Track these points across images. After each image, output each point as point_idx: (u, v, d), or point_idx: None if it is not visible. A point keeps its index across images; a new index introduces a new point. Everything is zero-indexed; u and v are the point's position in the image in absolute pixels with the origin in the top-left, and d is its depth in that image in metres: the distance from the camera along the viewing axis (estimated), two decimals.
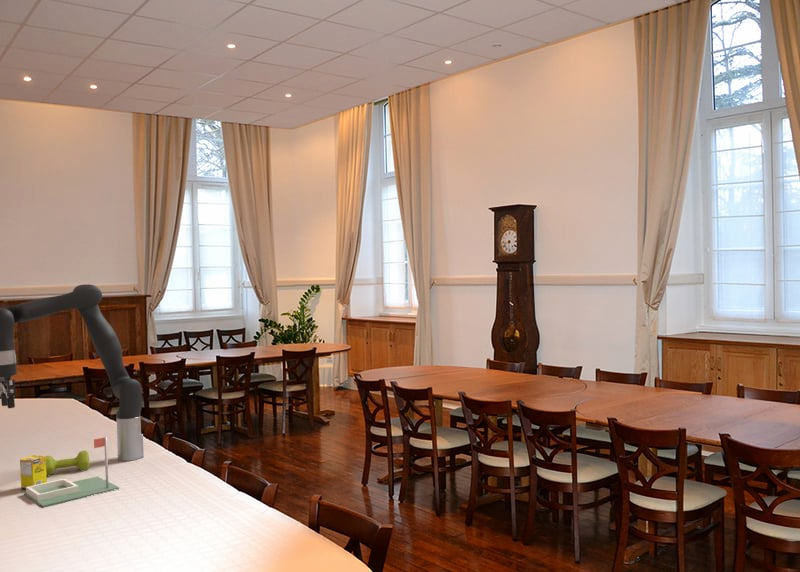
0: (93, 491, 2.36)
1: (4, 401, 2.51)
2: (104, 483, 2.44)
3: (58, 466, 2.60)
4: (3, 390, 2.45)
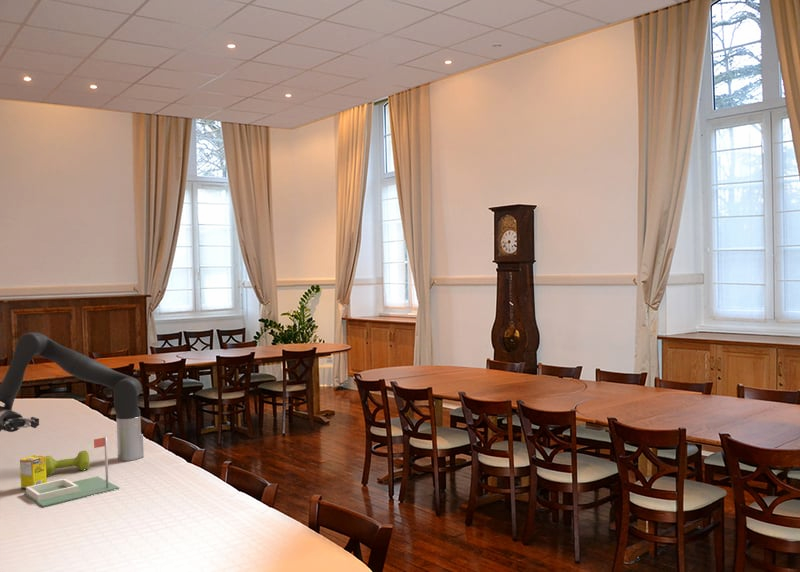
0: (93, 491, 2.36)
1: (33, 425, 2.55)
2: (104, 483, 2.44)
3: (58, 466, 2.60)
4: None
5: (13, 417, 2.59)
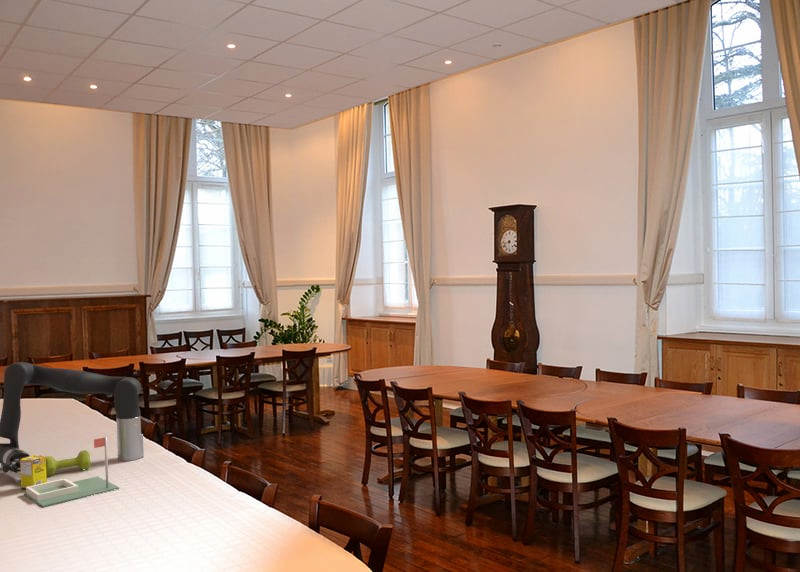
0: (93, 491, 2.36)
1: None
2: (104, 483, 2.44)
3: (59, 466, 2.60)
4: None
5: (20, 456, 2.55)
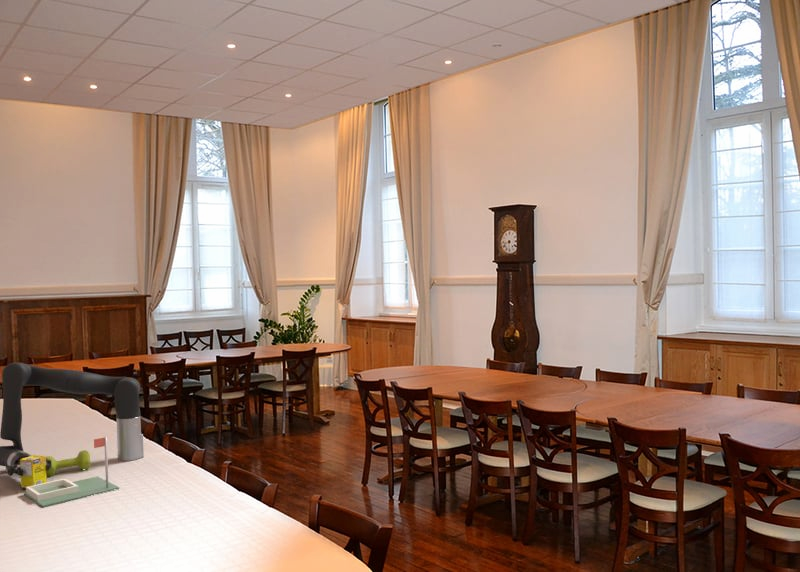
0: (93, 491, 2.36)
1: None
2: (104, 483, 2.44)
3: (59, 466, 2.60)
4: None
5: None
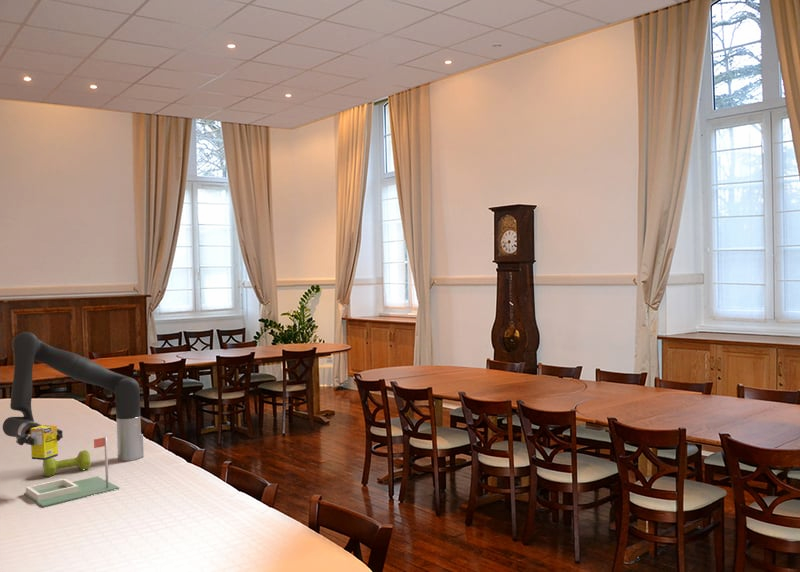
0: (93, 491, 2.36)
1: None
2: (104, 483, 2.44)
3: (59, 466, 2.60)
4: None
5: None
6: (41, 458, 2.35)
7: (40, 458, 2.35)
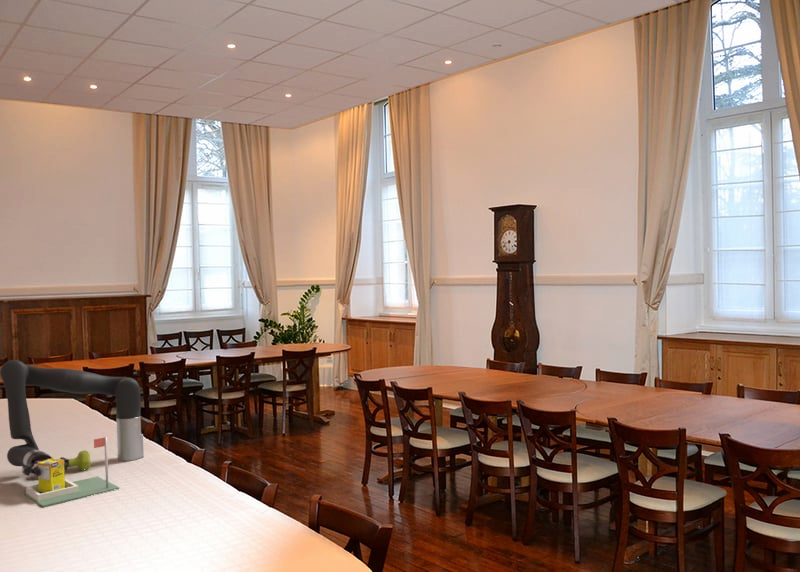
0: (93, 491, 2.36)
1: None
2: (104, 483, 2.44)
3: None
4: None
5: (42, 458, 2.43)
6: None
7: None
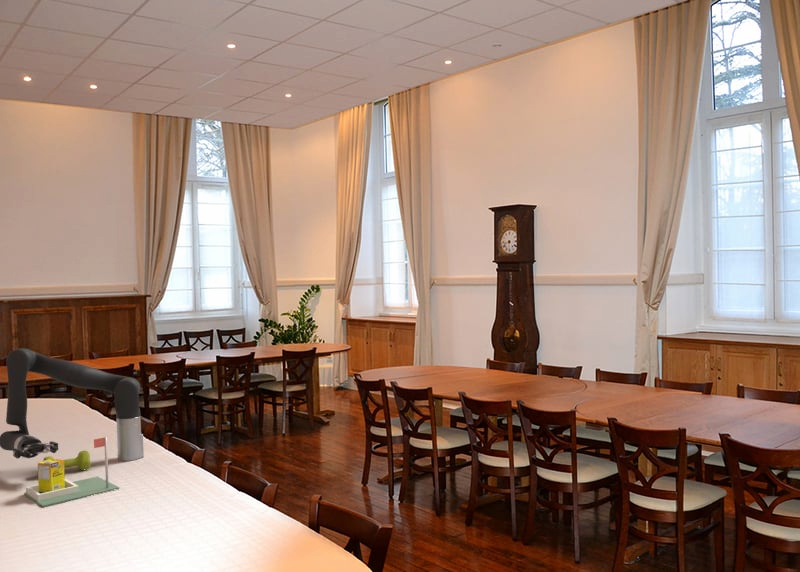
0: (93, 491, 2.36)
1: (52, 450, 2.49)
2: (104, 483, 2.44)
3: None
4: None
5: (32, 442, 2.53)
6: None
7: None
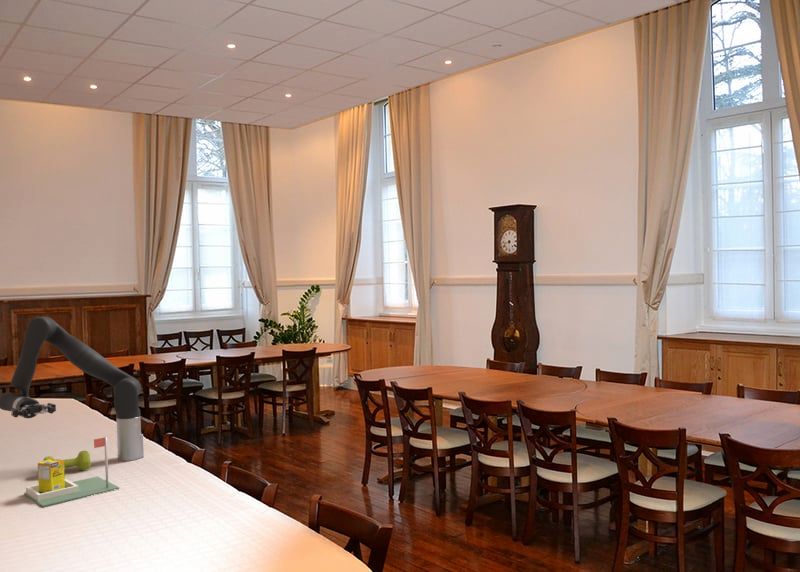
0: (93, 491, 2.36)
1: (49, 410, 2.53)
2: (104, 483, 2.44)
3: None
4: None
5: (30, 403, 2.57)
6: None
7: None
